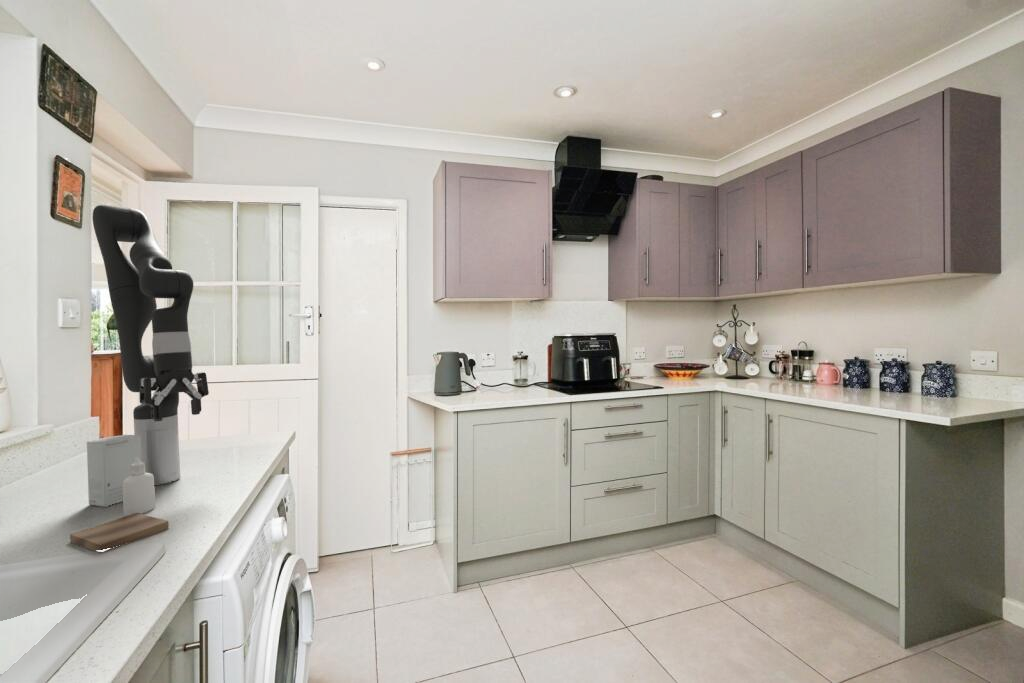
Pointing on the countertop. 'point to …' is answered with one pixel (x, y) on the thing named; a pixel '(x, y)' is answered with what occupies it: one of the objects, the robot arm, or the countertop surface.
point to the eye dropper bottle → (138, 490)
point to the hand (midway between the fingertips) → (177, 417)
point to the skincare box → (110, 467)
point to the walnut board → (119, 531)
